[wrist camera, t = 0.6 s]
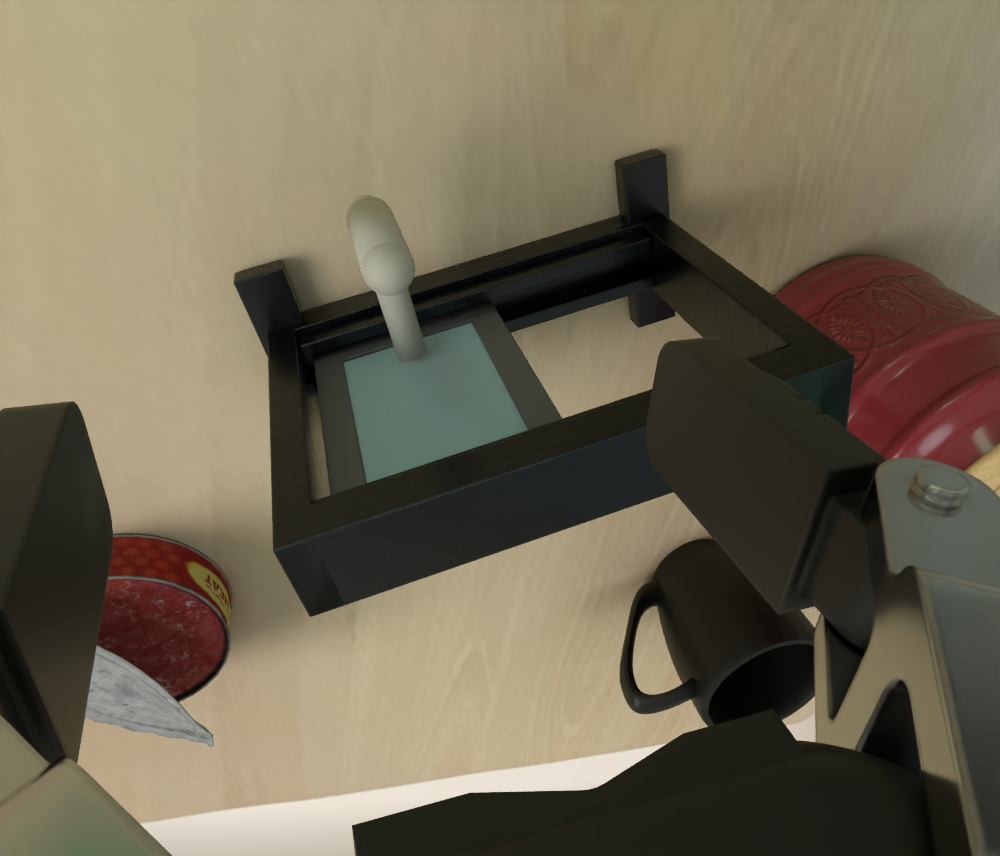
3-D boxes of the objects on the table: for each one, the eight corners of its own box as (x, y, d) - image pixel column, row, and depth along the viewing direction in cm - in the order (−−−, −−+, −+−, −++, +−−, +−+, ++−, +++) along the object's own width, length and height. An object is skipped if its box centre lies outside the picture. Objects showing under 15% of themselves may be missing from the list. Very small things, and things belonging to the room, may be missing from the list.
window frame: (656, 147, 32) (878, 277, 21) (667, 307, 37) (851, 484, 26) (234, 273, 30) (220, 490, 19) (302, 424, 35) (324, 670, 24)
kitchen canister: (768, 487, 47) (987, 733, 33) (678, 360, 39) (913, 608, 25) (949, 358, 44) (1267, 562, 30) (890, 196, 37) (1278, 368, 23)
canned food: (214, 587, 45) (208, 764, 41) (19, 585, 40) (-12, 787, 36) (261, 519, 37) (260, 733, 32) (22, 507, 32) (-17, 758, 27)
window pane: (454, 142, 28) (542, 243, 19) (493, 311, 33) (578, 455, 24) (248, 201, 27) (244, 333, 19) (317, 366, 32) (339, 535, 23)
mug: (585, 543, 45) (651, 670, 38) (759, 514, 48) (853, 627, 40) (573, 633, 50) (629, 762, 42) (732, 602, 53) (812, 718, 45)
